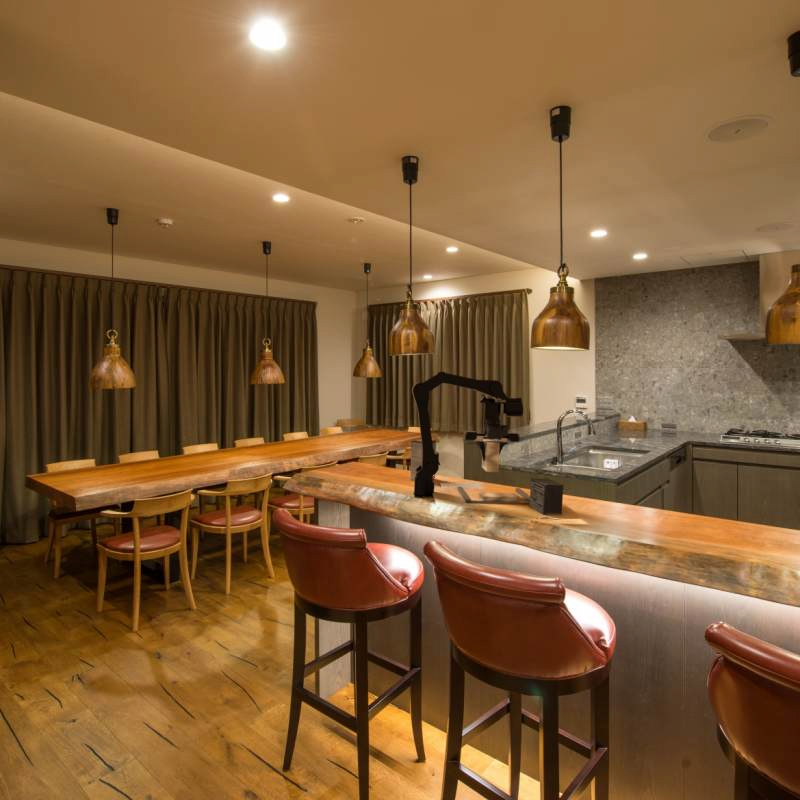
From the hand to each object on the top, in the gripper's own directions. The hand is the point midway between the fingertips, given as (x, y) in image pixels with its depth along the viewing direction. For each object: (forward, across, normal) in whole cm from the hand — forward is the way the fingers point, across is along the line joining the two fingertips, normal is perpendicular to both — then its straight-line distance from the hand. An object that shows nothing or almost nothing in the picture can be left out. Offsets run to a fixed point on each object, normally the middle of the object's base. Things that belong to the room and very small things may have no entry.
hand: (490, 460), depth 181 cm
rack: (+13, +1, -5) cm, 14 cm away
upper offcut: (+12, +1, -11) cm, 16 cm away
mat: (+13, -7, +15) cm, 21 cm away
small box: (+13, +13, -23) cm, 29 cm away
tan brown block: (+3, 0, 0) cm, 3 cm away
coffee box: (+13, -21, +32) cm, 41 cm away
